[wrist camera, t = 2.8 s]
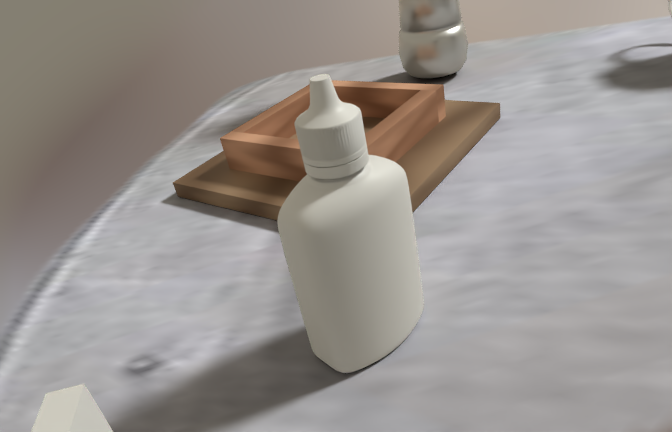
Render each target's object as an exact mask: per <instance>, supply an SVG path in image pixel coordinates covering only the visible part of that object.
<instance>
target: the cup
mask: <svg viewBox="0 0 672 432" xmlns="http://www.w3.org/2000/svg"><path fill="white" fill-rule="evenodd" d="M668 9H669V12H670V15H671V17H672V0H668Z"/></svg>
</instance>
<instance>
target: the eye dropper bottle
mask: <svg viewBox="0 0 672 432" xmlns="http://www.w3.org/2000/svg"><path fill="white" fill-rule="evenodd" d="M294 125H295V129H296V133H297V138H298V142H299V146H300V150H301V154H302V159H303V163H304V167H305V171H306V173H307V175H306V176H305V177H304V178H303V179H302V180H301V181H300V182H299V183H298V184H297V185H296V186H295V188H294V189H293V190H292V191H291V193H290V194H289V196H288V197H287V198H286V200H285V202H284V203H283V205H282V207H281V209H280V211H279V215H278V220H277V224H278V230H279V234H280V238H281V242H282V246H283V250H284V254H285V257H286V261H287V264H288V268H289V272H290V275H291V279H292V282H293V286H294V289H295V293H296V296H297V300H298V303H299V307H300V310H301V314H302V317H303V321H304V324H305V328H306V331H307V335H308V338H309V342H310V345H311V348H312V350H313V352H314V354H315V355H316V356H317V357H318V358H320V359H321V360H322V361H324V362H325V363H326V364H328V365H329V366H330V367H332V368H333V369H335V370H336V371H339V372H342V373H350V372H354V371H357V370H359V369H362V368H364V367H366V366H368V365H371V364H372V363H374V362H376V361H378V360H380V359H381V358H383V357H385V356H386V355H388V354H389V353H390V352H392V351H393V350H394V349H395V348H397V347H398V346H399V345H400V344H401V343H402V342H403V341H404V340H405V339H406V338H407V337H408V336H409V334H410V333H411V332H412V330H413V329H414V327H415V326H416V324H417V323H418V321H419V319H420V317H421V315H422V312H423V309H424V297H423V289H422V281H421V273H420V266H419V258H418V250H417V242H416V235H415V227H414V220H413V213H412V205H411V198H410V192H409V186H408V180H407V176H406V173H405V171H404V169H403V168H402V167H401V166H400V165H398V164H397V163H396V162H394V161H392V160H389V159H387V158H383V157H380V156H375V155H368V150H367V144H366V138H365V132H364V126H363V120H362V114H361V110H360V108H358V107H357V106H355V105H353V104H350V103H344V102H342V101H341V100H340V99H339V98H338V96H337V93H336V91H335V88H334V86H333V83H332V81H331V78H330V76H329V75H328V74H320V75H316V76H313V77H311V78H310V106H309V108H308V110H306V111H305V112H303V113H302V114H300V115H299V116H298V117H297V119H296V120H295V123H294Z"/></svg>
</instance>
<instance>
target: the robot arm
mask: <svg viewBox="0 0 672 432" xmlns="http://www.w3.org/2000/svg"><path fill="white" fill-rule="evenodd" d="M31 432H113V430H112V429H111V427H110V426H109V424H108V422H107V421H106V419H105V417H104V416H103V414H102V412H101V411H100V409H99V407H98V406H97V404H96V402H95V401H94V399H93V397H92V396H91V394H90V392H89V391H88V389H87V388H86V386H85V384H81V385H77V386H73V387H69V388H65V389H61V390H57V391H53V392H49V393H46V395H45V397H44V400H43V402H42V405H41V408H40V410H39V413H38V415H37V418H36V420H35V423H34V426H33V428H32V431H31Z"/></svg>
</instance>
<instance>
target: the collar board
mask: <svg viewBox="0 0 672 432" xmlns="http://www.w3.org/2000/svg"><path fill="white" fill-rule="evenodd" d="M331 81H332V83H333V86H334V88H335V91H336V93H337V96H338V98H339V99H340V100H341V101H342V102H344V103H350V104H353V105H355V106H357V107H358V108H360V110H361V114H362V120H363V126H364V132H365V138H366V144H367V150H368V155H375V156H380V157H383V158H387V159H389V160H392V161H394V162H396V163H397V164H398V165H400V166H401V167H402V168H403V169H404V171H405V173H406V176H407V180H408V186H409V192H410V198H411V205H412V213H413V212H414V211H415V210H416V208H417V207H418V206H419V205H420V204H421V203H422V202H423V201H424V200H425V199H426V198H427V197H428V195H429V194H430V193H431V192H432V191H433V190H434V189H435V188H436V187H437V186H438V185H439V184H440V182H441V181H442V180H443V179H444V178H445V177H446V176H447V175H448V174H449V173H450V172H451V171H452V169H453V168H454V167H455V166H456V165H457V164H458V163H459V162H460V161H461V160H462V159H463V158H464V156H465V155H466V154H467V153H468V152H469V151H470V150H471V149H472V148H473V147H474V146H475V145H476V143H477V142H478V141H479V140H480V139H481V138H482V137H483V136H484V135H485V134H486V133H487V132H488V130H489V129H490V128H491V127H492V126H493V125H494V124H495V123H496V122H497V121H498V120H499V119H500V103H488V102H470V101H452V100H445V99H444V86H443V85H440V84H413V83H387V82H360V81H333V80H331ZM309 106H310V84H309V85H308V86H306V87H304V88H303V89H301V90H299V91H298V92H296V93H294V94H293V95H291V96H289V97H288V98H286V99H284V100H283V101H281V102H279V103H278V104H276V105H274V106H273V107H271V108H269V109H268V110H266V111H264V112H263V113H261V114H259V115H258V116H256V117H254V118H253V119H251V120H249V121H248V122H246V123H244V124H243V125H241V126H239V127H238V128H236V129H234V130H233V131H231V132H229V133H228V134H226V135H224V136H223V137H221V138H220V140H221V143H222V146H223V150H224V151H223V152H221V153H219V154H218V155H216V156H215V157H213V158H211V159H210V160H208V161H207V162H205V163H203V164H202V165H200V166H199V167H197V168H195V169H194V170H192V171H191V172H189V173H187V174H186V175H184V176H183V177H181V178H179V179H178V180H176V181H175V182H173V185H174V187H175V190H176V192H177V195H178V197H182V198H186V199H190V200H195V201H199V202H203V203H207V204H211V205H215V206H219V207H224V208H228V209H232V210H236V211H240V212H244V213H248V214H253V215H257V216H261V217H265V218H269V219H273V220H278V215H279V211H280V209H281V207H282V205H283V203H284V202H285V200H286V198H287V197H288V196H289V194H290V193H291V191H292V190H293V189H294V188H295V186H296V185H297V184H298V183H299V182H300V181H301V180H302V179H303V178H304V177H305V176H306V175H307V173H306V171H305V167H304V163H303V159H302V154H301V150H300V146H299V142H298V138H297V133H296V129H295V125H294V123H295V120H296V119H297V117H298V116H299V115H300V114H302V113H303V112H305V111H306V110H308V108H309Z"/></svg>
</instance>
